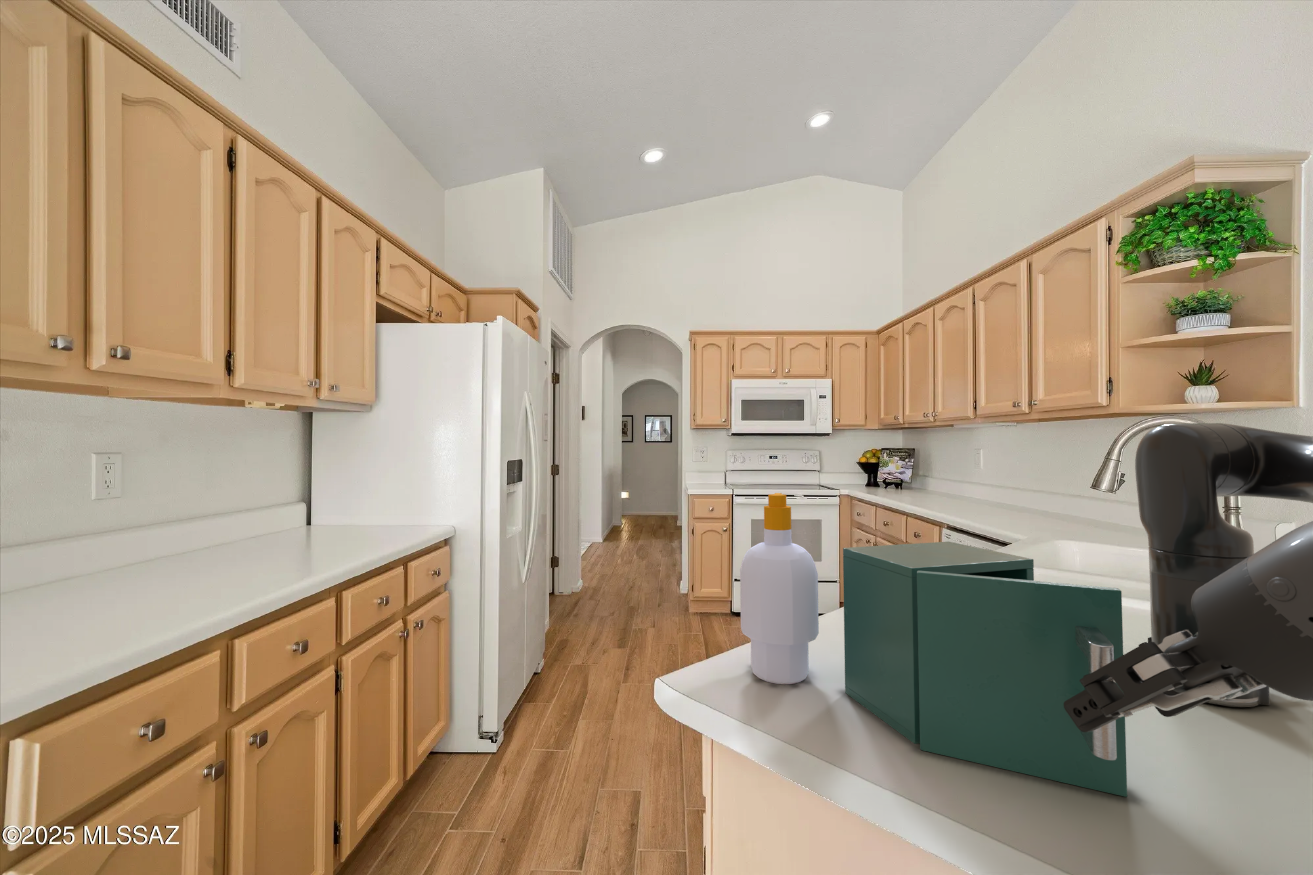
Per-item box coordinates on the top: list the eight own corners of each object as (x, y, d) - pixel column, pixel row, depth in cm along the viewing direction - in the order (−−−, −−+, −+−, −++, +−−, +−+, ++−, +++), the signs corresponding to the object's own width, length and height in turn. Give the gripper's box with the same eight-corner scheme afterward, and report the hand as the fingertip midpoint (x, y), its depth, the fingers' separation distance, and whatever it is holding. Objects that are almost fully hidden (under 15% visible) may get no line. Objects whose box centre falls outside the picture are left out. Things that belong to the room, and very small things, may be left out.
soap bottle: (818, 663, 75) (815, 492, 76) (820, 695, 65) (817, 498, 66) (745, 656, 78) (743, 491, 79) (736, 686, 68) (734, 497, 69)
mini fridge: (1037, 723, 58) (1033, 559, 59) (914, 745, 54) (911, 568, 55) (951, 678, 70) (948, 541, 70) (844, 693, 66) (842, 547, 66)
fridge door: (1149, 837, 41) (1142, 606, 41) (918, 779, 48) (915, 584, 49) (1123, 790, 47) (1118, 587, 47) (920, 745, 54) (917, 570, 54)
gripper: (1315, 685, 26) (1082, 780, 37) (1480, 655, 30) (1224, 750, 41) (1182, 556, 32) (1012, 672, 42) (1336, 544, 35) (1143, 654, 46)
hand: (1116, 710), depth 42 cm, fingers open, 8 cm apart
